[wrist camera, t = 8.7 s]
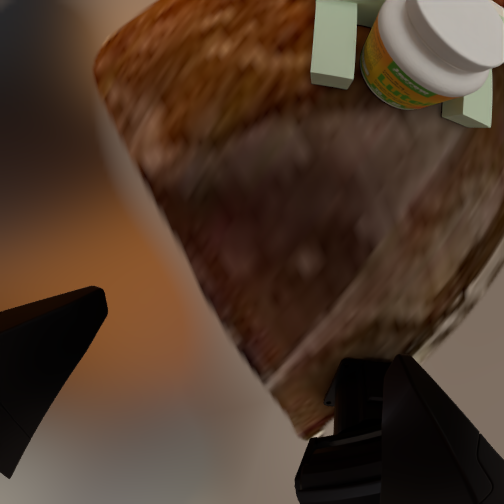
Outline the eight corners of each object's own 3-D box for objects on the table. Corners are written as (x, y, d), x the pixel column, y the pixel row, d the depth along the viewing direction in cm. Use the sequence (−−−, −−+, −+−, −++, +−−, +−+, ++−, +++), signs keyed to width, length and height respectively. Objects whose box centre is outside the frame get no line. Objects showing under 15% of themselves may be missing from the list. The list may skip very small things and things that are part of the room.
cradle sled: (468, 127, 12) (515, 129, 8) (310, 83, 14) (308, 58, 9) (468, 40, 10) (507, 20, 5) (317, -5, 11) (315, -50, 6)
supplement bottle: (355, 98, 14) (395, 49, 5) (360, 27, 12) (388, -60, 3) (433, 121, 13) (527, 112, 4) (436, 50, 11) (512, -1, 2)
